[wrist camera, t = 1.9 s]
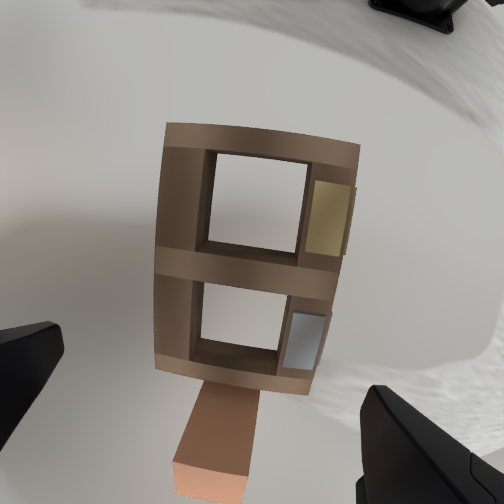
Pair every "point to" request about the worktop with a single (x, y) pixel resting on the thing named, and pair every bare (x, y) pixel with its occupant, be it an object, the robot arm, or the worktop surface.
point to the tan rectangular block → (217, 444)
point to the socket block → (248, 256)
